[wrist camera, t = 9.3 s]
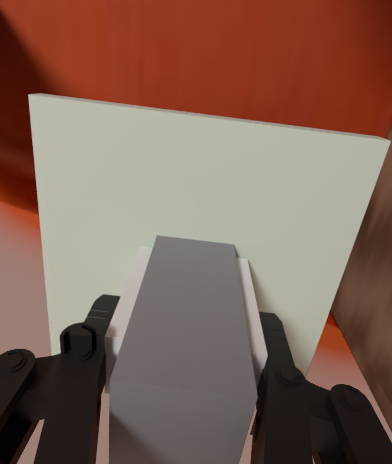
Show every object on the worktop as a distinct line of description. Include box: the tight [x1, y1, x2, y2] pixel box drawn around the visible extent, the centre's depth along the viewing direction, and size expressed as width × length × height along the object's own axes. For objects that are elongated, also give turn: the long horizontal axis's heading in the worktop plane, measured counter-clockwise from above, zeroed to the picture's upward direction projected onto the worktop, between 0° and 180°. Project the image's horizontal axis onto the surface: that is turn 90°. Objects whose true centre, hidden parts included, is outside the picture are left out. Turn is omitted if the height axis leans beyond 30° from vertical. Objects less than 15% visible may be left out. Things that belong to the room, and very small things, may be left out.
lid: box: [28, 93, 391, 464], centre depth 15 cm, size 16×16×11 cm
